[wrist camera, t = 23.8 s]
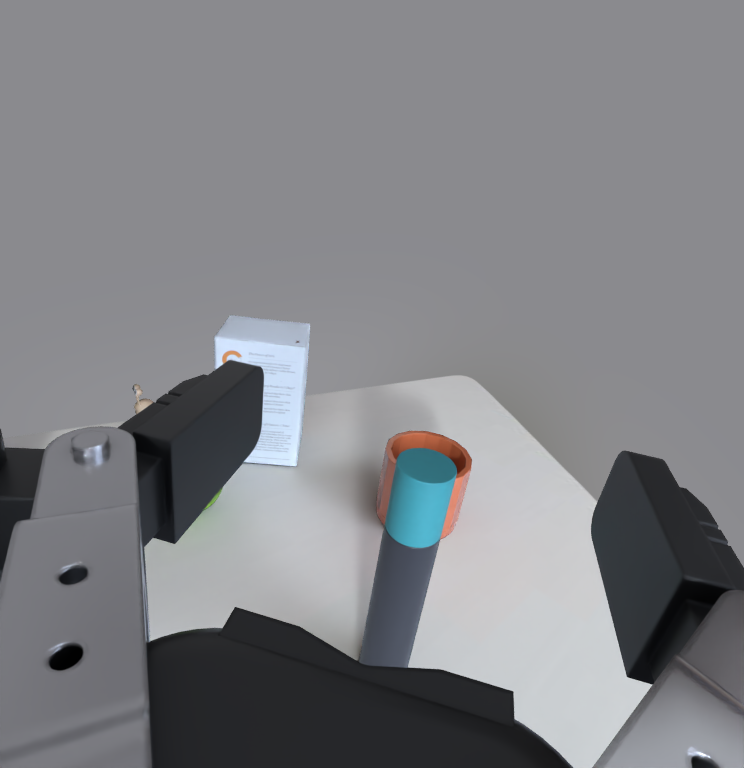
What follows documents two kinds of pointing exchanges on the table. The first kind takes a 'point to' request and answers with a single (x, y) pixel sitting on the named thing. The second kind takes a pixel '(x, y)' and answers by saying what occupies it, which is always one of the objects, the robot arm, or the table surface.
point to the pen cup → (434, 443)
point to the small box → (271, 379)
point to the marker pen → (407, 555)
